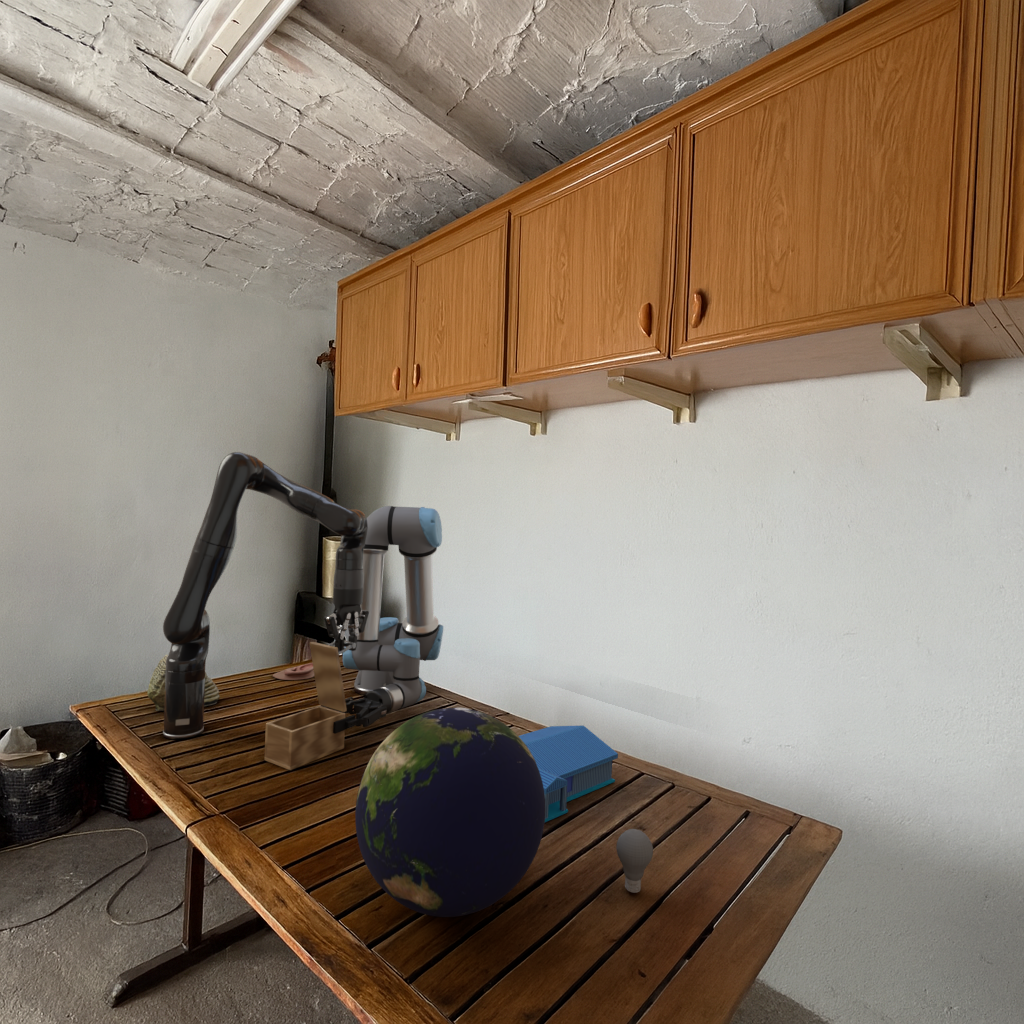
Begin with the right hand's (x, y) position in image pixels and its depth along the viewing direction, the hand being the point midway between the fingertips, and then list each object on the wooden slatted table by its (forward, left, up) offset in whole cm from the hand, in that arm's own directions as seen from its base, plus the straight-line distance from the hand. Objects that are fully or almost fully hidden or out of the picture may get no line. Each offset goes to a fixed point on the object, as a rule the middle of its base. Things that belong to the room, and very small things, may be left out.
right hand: (320, 723), depth 159 cm
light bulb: (+45, +74, -6) cm, 87 cm away
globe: (+53, +44, -6) cm, 69 cm away
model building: (+12, +54, -6) cm, 55 cm away
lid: (-1, +1, +11) cm, 11 cm away
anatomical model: (-57, -34, -6) cm, 67 cm away
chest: (+4, -2, -6) cm, 8 cm away
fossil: (-21, -50, -6) cm, 55 cm away
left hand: (-7, +3, +17) cm, 18 cm away
